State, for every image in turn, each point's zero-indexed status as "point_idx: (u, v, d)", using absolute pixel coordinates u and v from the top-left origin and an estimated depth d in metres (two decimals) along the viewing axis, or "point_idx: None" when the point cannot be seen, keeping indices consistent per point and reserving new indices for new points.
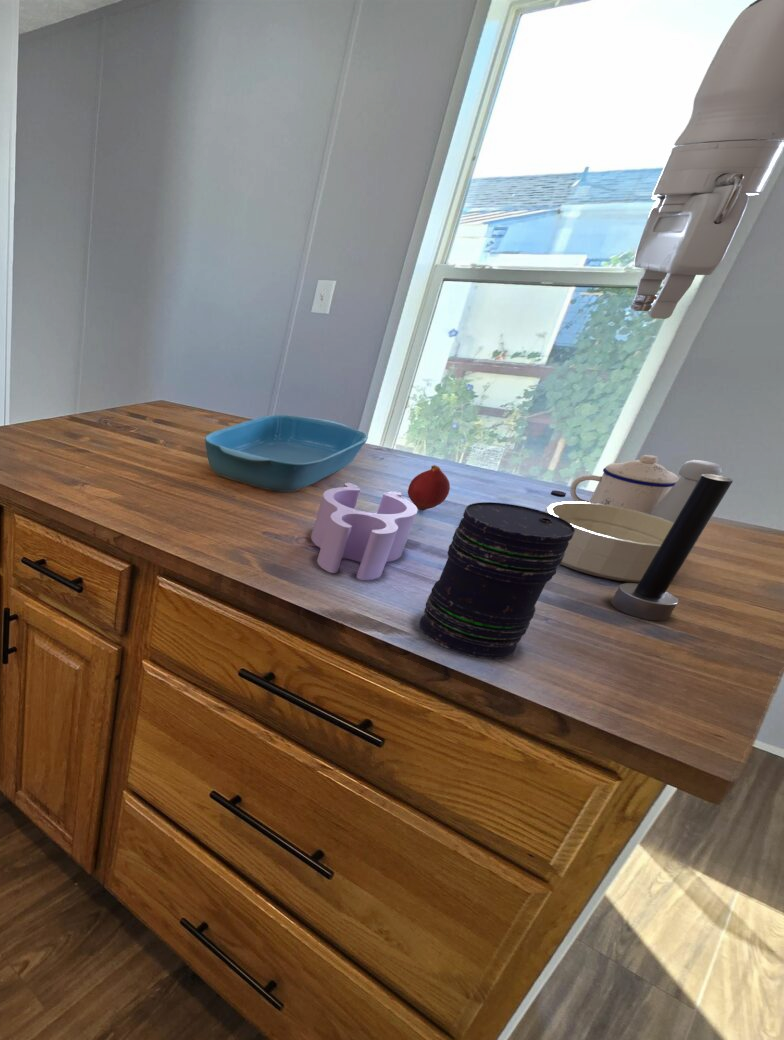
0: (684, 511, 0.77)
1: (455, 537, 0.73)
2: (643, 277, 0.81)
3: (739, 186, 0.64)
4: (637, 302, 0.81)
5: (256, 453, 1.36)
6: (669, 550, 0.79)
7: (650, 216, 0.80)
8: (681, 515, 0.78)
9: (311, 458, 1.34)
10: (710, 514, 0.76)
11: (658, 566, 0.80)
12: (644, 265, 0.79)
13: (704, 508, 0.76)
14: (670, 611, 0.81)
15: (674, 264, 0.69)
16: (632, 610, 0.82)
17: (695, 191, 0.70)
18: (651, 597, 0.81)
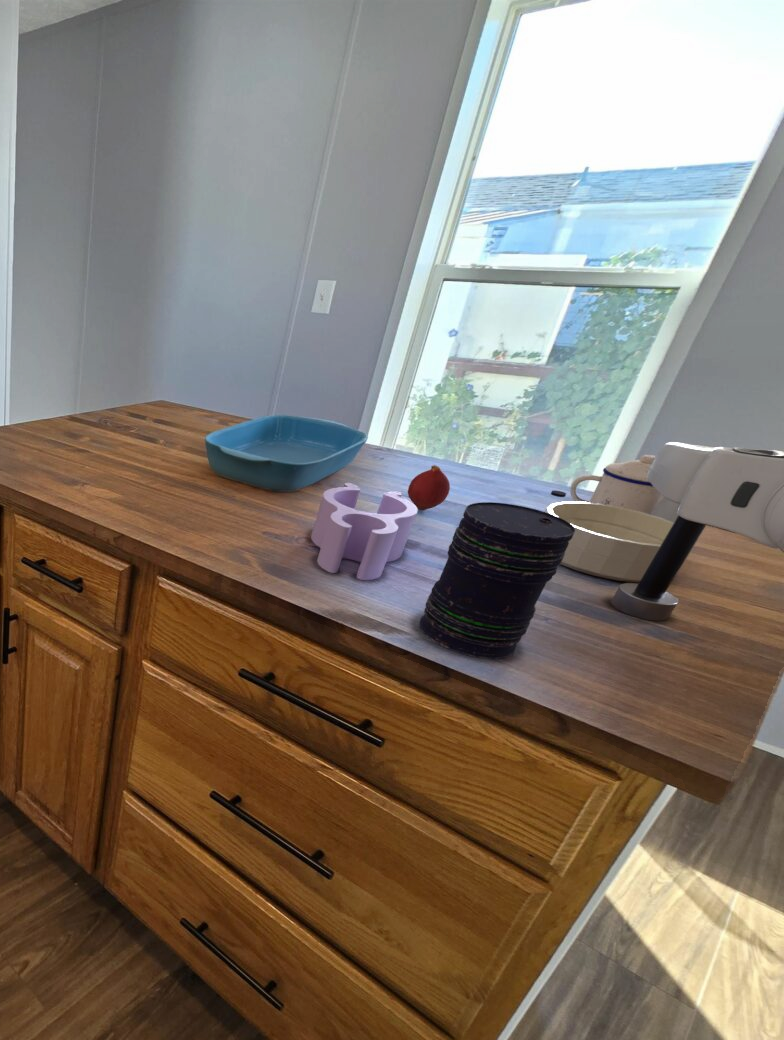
0: None
1: (455, 537, 0.73)
2: None
3: None
4: None
5: (256, 453, 1.36)
6: (669, 550, 0.79)
7: None
8: None
9: (311, 458, 1.34)
10: None
11: (658, 566, 0.80)
12: None
13: None
14: (670, 611, 0.81)
15: None
16: (632, 610, 0.82)
17: None
18: (651, 597, 0.81)
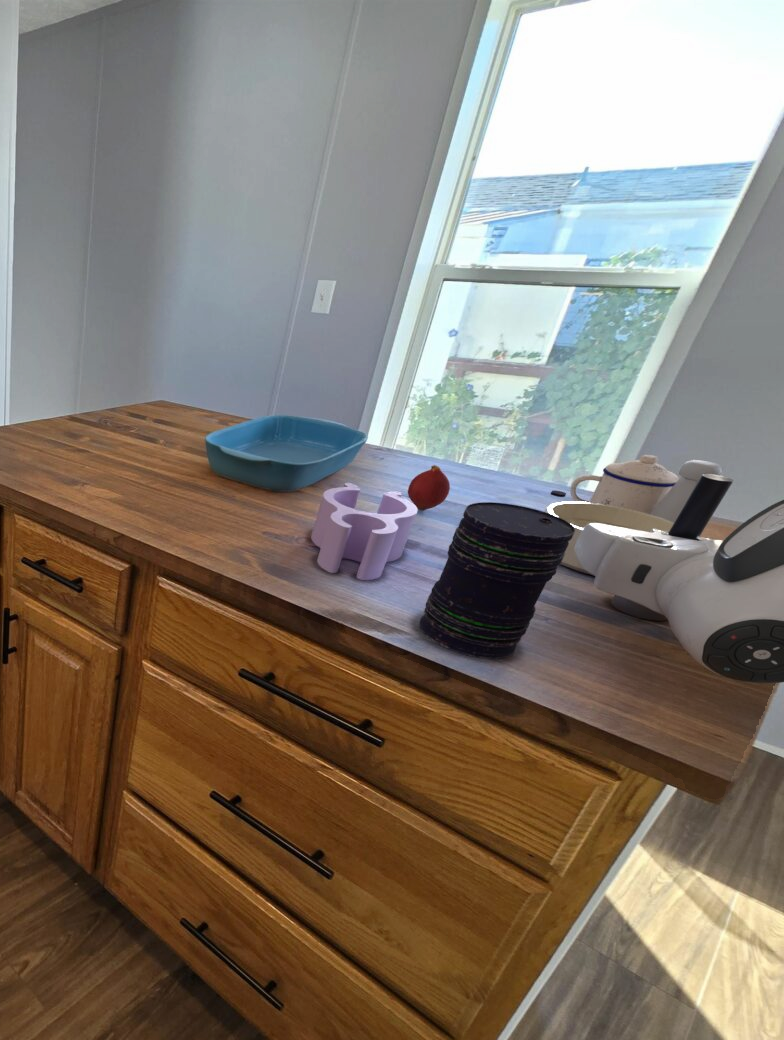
0: (684, 511, 0.77)
1: (455, 537, 0.73)
2: None
3: None
4: None
5: (256, 453, 1.36)
6: None
7: None
8: (681, 515, 0.77)
9: (311, 458, 1.34)
10: (710, 514, 0.76)
11: None
12: None
13: (704, 508, 0.76)
14: None
15: None
16: (632, 610, 0.82)
17: None
18: None
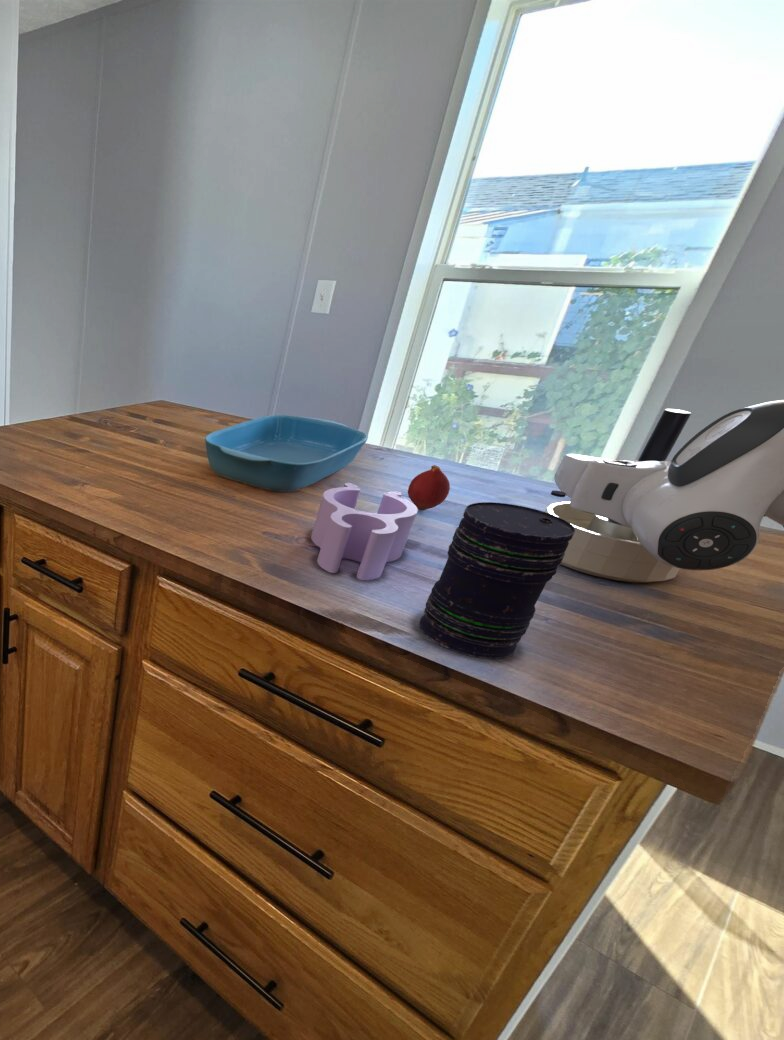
0: (649, 442, 0.88)
1: (455, 537, 0.73)
2: None
3: None
4: None
5: (256, 453, 1.36)
6: None
7: None
8: (647, 446, 0.88)
9: (311, 458, 1.34)
10: (672, 444, 0.86)
11: None
12: None
13: (667, 438, 0.86)
14: None
15: None
16: (605, 533, 0.93)
17: None
18: None
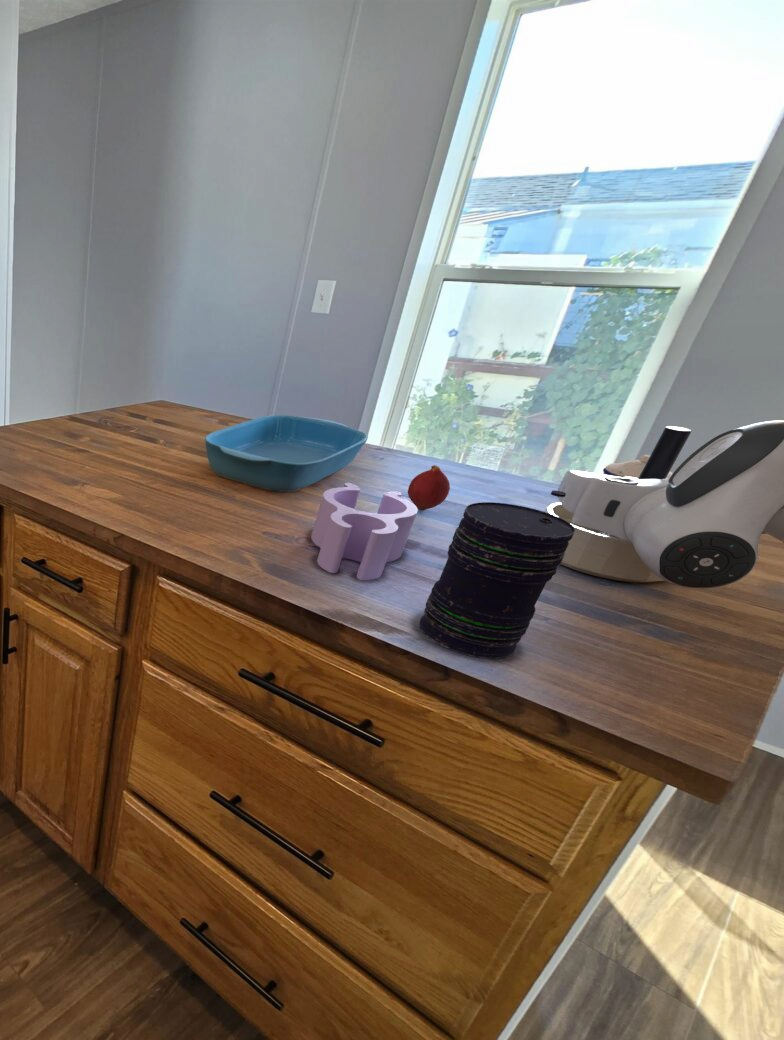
0: (651, 459, 0.89)
1: (455, 537, 0.73)
2: None
3: None
4: None
5: (256, 453, 1.36)
6: None
7: None
8: (648, 462, 0.90)
9: (311, 458, 1.34)
10: (673, 460, 0.88)
11: None
12: None
13: (667, 455, 0.88)
14: None
15: None
16: None
17: None
18: None
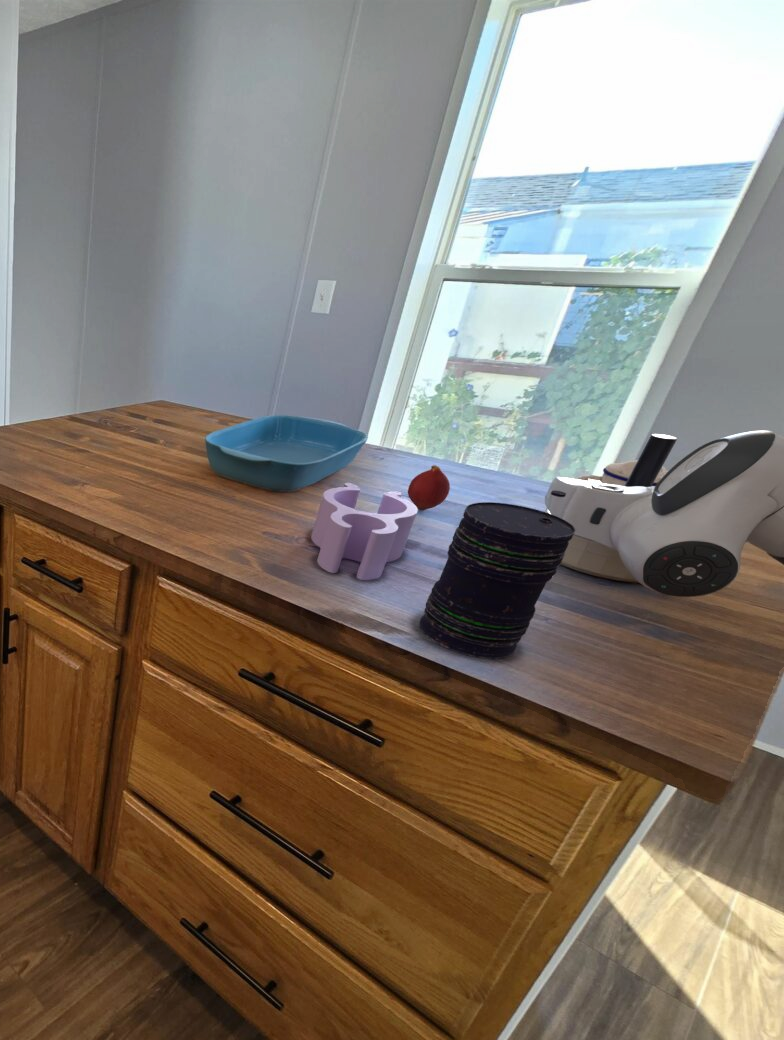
0: (637, 466, 0.89)
1: (455, 537, 0.73)
2: None
3: None
4: None
5: (256, 453, 1.36)
6: None
7: None
8: (634, 470, 0.90)
9: (311, 458, 1.34)
10: (659, 468, 0.88)
11: None
12: None
13: (653, 463, 0.88)
14: None
15: None
16: None
17: None
18: None
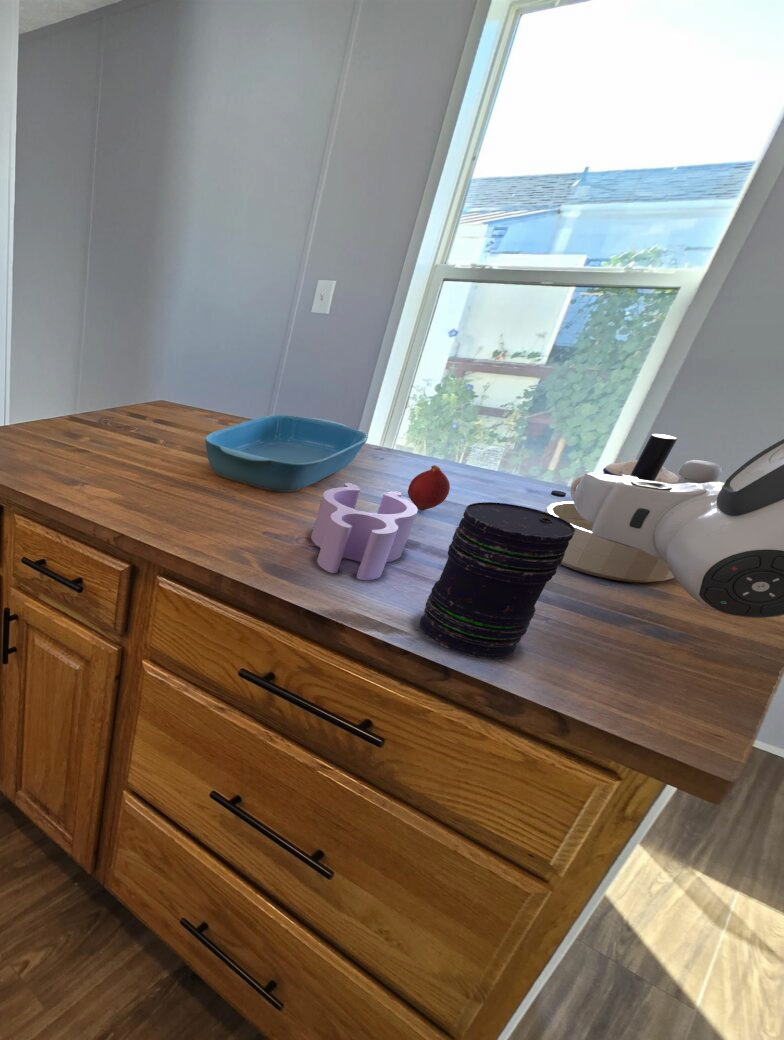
0: (637, 466, 0.89)
1: (455, 537, 0.73)
2: None
3: None
4: None
5: (256, 453, 1.36)
6: None
7: None
8: (634, 470, 0.90)
9: (311, 458, 1.34)
10: (659, 468, 0.88)
11: None
12: None
13: (653, 463, 0.88)
14: None
15: None
16: None
17: None
18: None
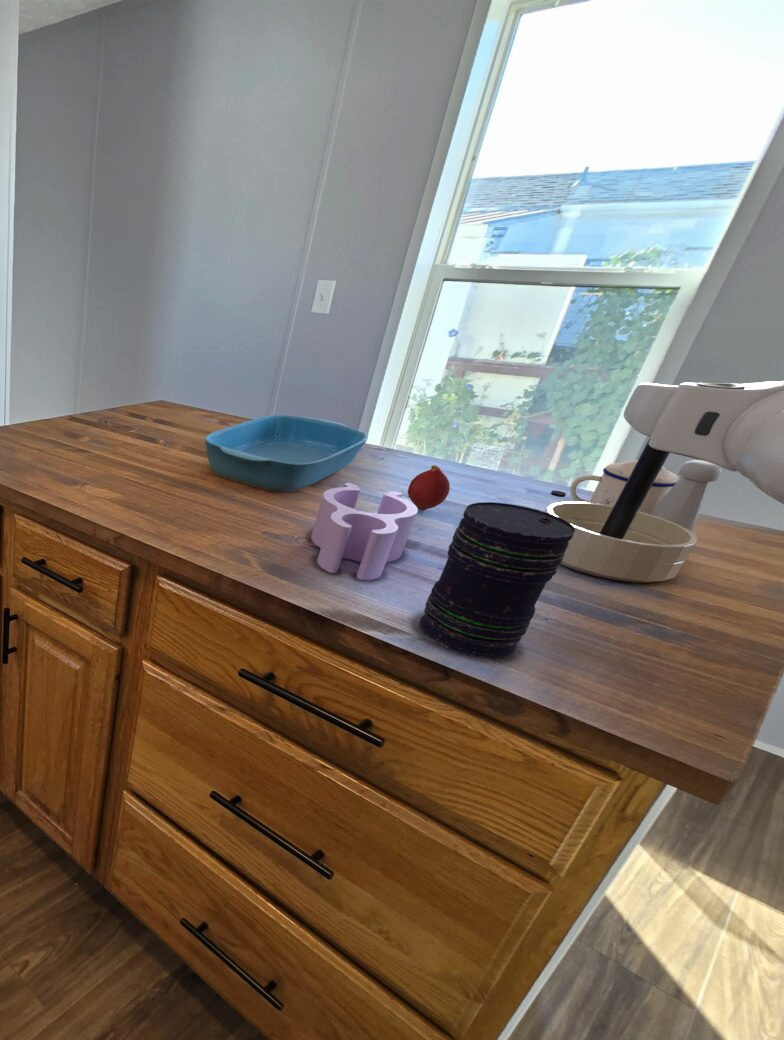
0: (637, 466, 0.89)
1: (455, 537, 0.73)
2: None
3: None
4: None
5: (256, 453, 1.36)
6: (625, 501, 0.91)
7: None
8: (634, 470, 0.90)
9: (311, 458, 1.34)
10: (659, 468, 0.88)
11: (616, 516, 0.92)
12: None
13: (653, 463, 0.88)
14: None
15: None
16: None
17: None
18: None
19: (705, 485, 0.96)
